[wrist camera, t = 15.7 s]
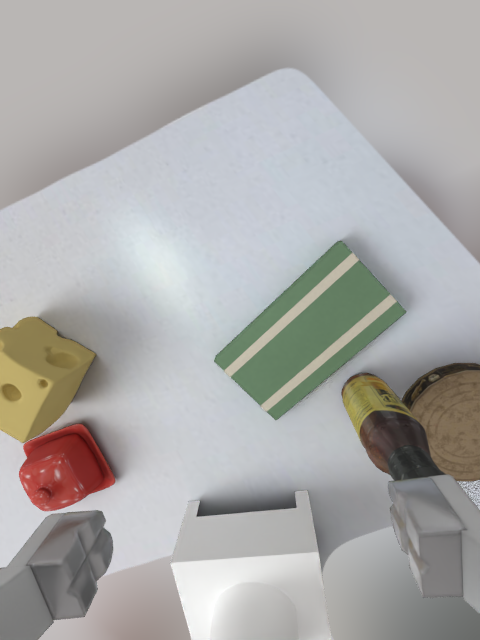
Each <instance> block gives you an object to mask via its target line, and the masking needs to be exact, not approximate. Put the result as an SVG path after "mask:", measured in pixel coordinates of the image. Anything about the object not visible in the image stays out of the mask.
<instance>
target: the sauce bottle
mask: <svg viewBox="0 0 480 640" xmlns="http://www.w3.org/2000/svg"><path fill="white" fill-rule="evenodd" d="M342 398H343V403H344V406H345V408H346V410H347V412H348V415H349V417H350V419H351V421H352V423H353V426H354V428H355V430H356V432H357V434H358V436H359V439H360V441H361V443H362V445H363V446H364V448H365V449H366V451H367V453H368V456H369V458H370V459H371V461H372V462H373V463H374V464H375V466H376V467H377V468H378V469H380V470H382V471H383V472H385V473H388V474H389V475H391V477H392V478H393V479H394V480H405V479H414V478H423V477H430V476H438V475H446V474H445V473H444V472H442V471H441V470H440V469H439V468H438V467H437V465H436V464H435V463H434V462H433V459H432V458H431V454H430V449H429V445H428V440H427V435H426V432H425V429H424V427H423V426H422V425H421V423H420V422H419V421H418V420H417V419H416V418H415V416H414V415H413V414H412V413H411V412H410V411H409V409H408V408H407V407H406V406H405V405H404V404H403V402H402V401H401V400H400V399H399V398H398V397H397V396H396V394H395V393H394V392H393V391H392V390H391V389H390V388H389V386H388V385H387V384H386V383H385V382H384V381H383V380H381V379H380V378H378V377H376V376H374V375H372V374H369V373H362V374H358V375H355V376H352V377H351V378H349V380H348V381H347V382H346V383H345V385H344V387H343V389H342Z"/></svg>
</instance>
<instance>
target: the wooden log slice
mask: <svg viewBox="0 0 480 640" xmlns="http://www.w3.org/2000/svg"><path fill="white" fill-rule="evenodd" d="M402 402H403V404H404V405H405V406H406V407H407V408H408V409H409V411H410V412H411V413H412V414H413V415H414V416H415V418H416V419H417V420H418V421H419V422H420V423H421V425H422V426H423V427H424V429H425V432H426V435H427V440H428V445H429V449H430V454H431V458H432V459H433V462H434V463H435V464H436V465H437V467H438V468H439V469H440V470H441V471H442V472H444V473H445V474H446V475H447V474H449V475H451V476H452V477H453V478H454V479H455V480H456V481H476V480H480V365H479V364H476V363H453V364H450V365H446V366H442V367H439V368H435V369H434V370H432V371H430V372H429V373H427V374H425V375H424V376H422V377H420V378H419V379H418V380H417V381H416V382H415V383H414V384H413V385H412V386H411V387H410V388H409V389H408V390H407V391H406V393H405V395H404V397H403V399H402Z"/></svg>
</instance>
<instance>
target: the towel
mask: <svg viewBox="0 0 480 640" xmlns="http://www.w3.org/2000/svg"><path fill="white" fill-rule="evenodd" d="M405 313H406V311H405V310H404V309H403V308H402V306H401V305H400V304H399V303H398V302H397V301H396V300H395V298H394V297H393V296H392V295H391V294H390V293H389V292H388V291H387V290H386V289H385V288H384V287H383V286H382V285H381V283H380V282H379V281H378V280H377V279H376V278H375V277H374V276H373V275H372V274H371V273H370V271H369V270H368V269H367V268H366V267H365V266H364V265H363V264H362V263H361V262H360V260H359V259H358V258H357V257H356V256H355V255H354V254H353V253H352V252H351V251H350V250H349V248H348V247H347V246H346V245H345V244H344V243H343V242H342V241H337V242H336V243H335V244H334V245H333V246H332V247H331V248H330V249H329V250H328V251H327V252H326V253H325V254H324V255H323V256H322V257H320V258H319V259H318V260H317V261H316V262H315V263H314V264H313V265H312V266H311V267H310V268H309V269H308V270H307V271H306V272H305V273H304V274H302V275H301V276H300V277H299V278H298V279H297V280H296V281H295V282H294V283H293V284H292V285H291V286H290V287H289V288H288V289H287V290H285V291H284V292H283V293H282V294H281V295H280V296H279V297H278V298H277V299H276V300H275V301H274V302H273V303H272V304H271V305H270V306H268V307H267V308H266V309H265V310H264V311H263V312H262V313H261V314H260V315H259V316H258V317H257V318H256V319H255V320H254V321H253V322H251V323H250V324H249V325H248V326H247V327H246V328H245V329H244V330H243V331H242V332H241V333H240V334H239V335H238V336H237V337H236V338H234V339H233V340H232V341H231V342H230V343H229V344H228V345H227V346H226V347H225V348H224V349H223V350H222V351H221V352H220V353H219V354H217V355H216V357H215V360H214V362H215V363H216V364H217V365H219V366H220V367H221V368H222V369H223V370H224V372H225V373H226V374H227V375H228V376H229V377H231V378H232V379H233V380H234V381H235V382H236V383H237V384H238V385H239V386H240V387H241V388H242V389H244V390H245V391H246V392H247V393H248V394H249V395H250V396H251V397H252V398H253V399H254V400H255V401H256V402H257V403H258V404H259V405H260V406H261V407H262V408H263V409H264V410H265V411H266V412H267V413H269V414H270V415H271V416H272V417H273V418H274V419H275V420H277V419H278V418H280V417H281V416H282V415H283V414H284V413H286V412H287V411H288V410H289V409H290V408H292V407H293V406H294V405H295V404H296V403H298V402H299V401H300V400H301V399H302V398H304V397H305V396H306V395H307V394H309V393H310V392H311V391H312V390H313V389H315V388H316V387H317V386H318V385H319V384H321V383H322V382H323V381H324V380H325V379H327V378H328V377H329V376H330V375H331V374H333V373H334V372H335V371H336V370H337V369H339V368H340V367H341V366H342V365H343V364H345V363H346V362H347V361H348V360H349V359H351V358H352V357H353V356H354V355H355V354H357V353H358V352H359V351H360V350H361V349H363V348H364V347H365V346H366V345H368V344H369V343H370V342H371V341H372V340H374V339H375V338H376V337H377V336H378V335H380V334H381V333H382V332H383V331H384V330H386V329H387V328H388V327H389V326H390V325H392V324H393V323H394V322H395V321H396V320H398V319H399V318H400V317H401V316H402V315H404V314H405Z"/></svg>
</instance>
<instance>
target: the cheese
mask: <svg viewBox="0 0 480 640" xmlns="http://www.w3.org/2000/svg"><path fill="white" fill-rule="evenodd" d="M95 356H96V354H95V353H94V352H92V351H90V350H89V349H87V348H85V347H83V346H82V345H80V344H78V343H76V342H75V341H73V340H69V339H64V338H61V337H59V336H58V335H57V330H55V329H54V328H52V327H51V326H50V325H48V324H46V323H45V322H44V321H42V320H41V319H39V318H38V317H27V318H24V319H22V320H20V321H19V322H18V323H17V324H16V325H15V326H14V327H13V328H10V327H4V328H2V329H0V430H2V431H3V432H5V433H7V434H9V435H10V436H12V437H14V438H15V439H17V440H19V441H20V442H22V443H24V442H26V441H28V440H30V439H32V438H34V437H36V436H37V435H39V434H41V433H42V432H43V431H45V430H46V429H47V428H48V427H50V426H51V425H52V424H53V423H54V422H55V421H56V420H57V419H59V418H60V416H61V415H62V414H63V413H64V412H65V410H66V409H67V408H68V406H69V405H70V403H71V401H72V400H73V398H74V396H75V394H76V392H77V390H78V388H79V386H80V384H81V381H82V379H83V377H84V375H85V373H86V372H87V370H88V368H89V366H90V365H91V363H92V361H93V359H94V358H95Z"/></svg>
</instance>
